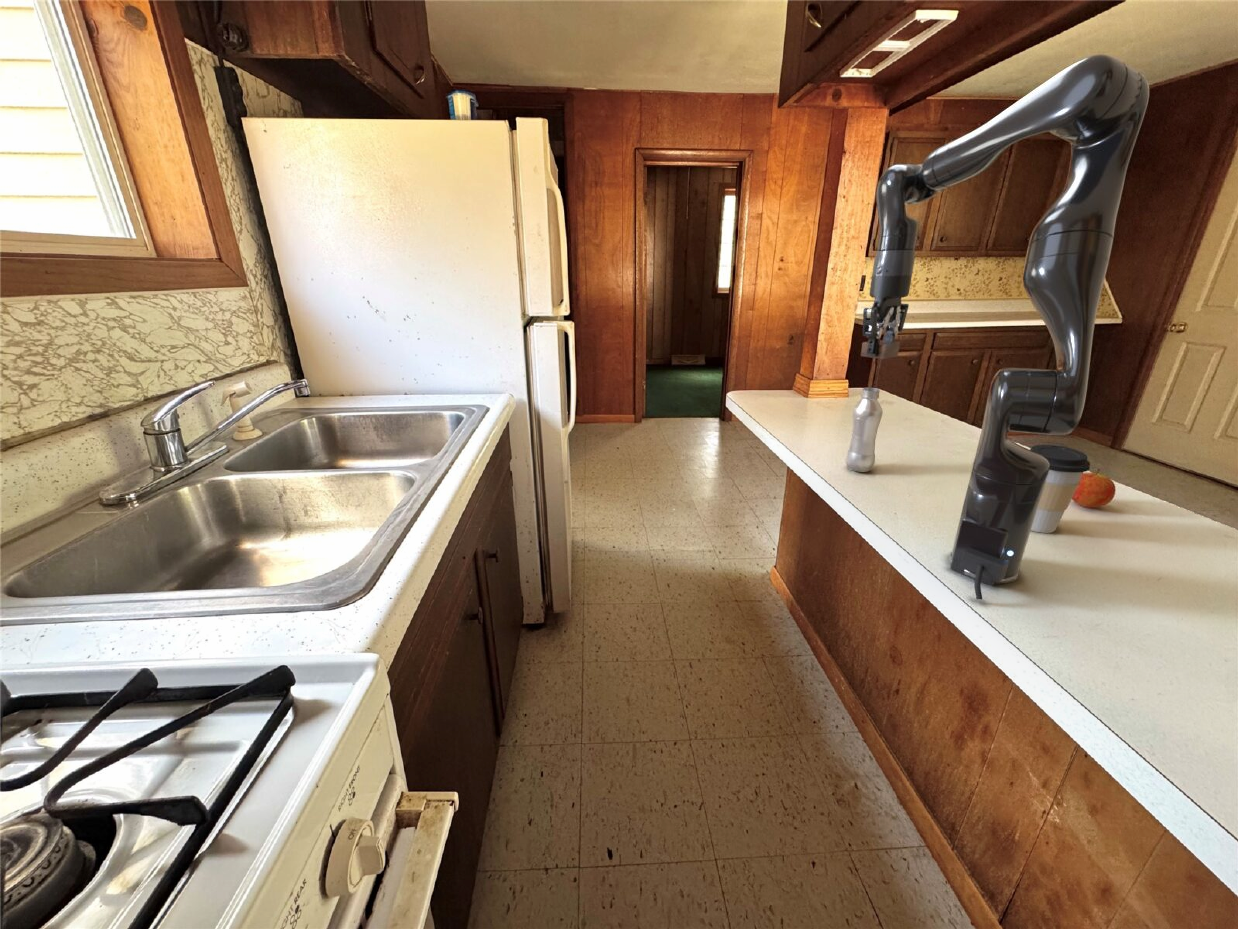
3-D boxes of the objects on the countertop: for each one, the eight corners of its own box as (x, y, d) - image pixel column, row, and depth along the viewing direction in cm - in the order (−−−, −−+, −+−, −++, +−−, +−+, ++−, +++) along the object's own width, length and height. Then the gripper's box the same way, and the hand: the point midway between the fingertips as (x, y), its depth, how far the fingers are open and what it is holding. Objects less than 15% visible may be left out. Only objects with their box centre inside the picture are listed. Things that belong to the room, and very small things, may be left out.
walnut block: (884, 359, 110) (886, 345, 109) (860, 356, 114) (862, 342, 113) (897, 355, 113) (900, 342, 112) (874, 352, 117) (876, 339, 116)
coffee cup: (1050, 515, 100) (1073, 444, 95) (1079, 540, 92) (1106, 463, 86) (996, 512, 102) (1015, 442, 96) (1020, 536, 94) (1042, 460, 88)
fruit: (1095, 516, 99) (1108, 478, 96) (1055, 502, 105) (1067, 466, 102) (1116, 509, 102) (1130, 472, 99) (1076, 495, 108) (1088, 460, 105)
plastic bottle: (844, 473, 123) (856, 392, 115) (844, 463, 128) (855, 385, 121) (874, 476, 120) (887, 393, 113) (872, 466, 126) (885, 386, 119)
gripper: (891, 275, 101) (877, 360, 107) (927, 271, 108) (913, 351, 114) (855, 274, 106) (845, 356, 113) (892, 271, 114) (881, 348, 120)
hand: (879, 353), depth 114 cm, fingers closed on walnut block, 5 cm apart
